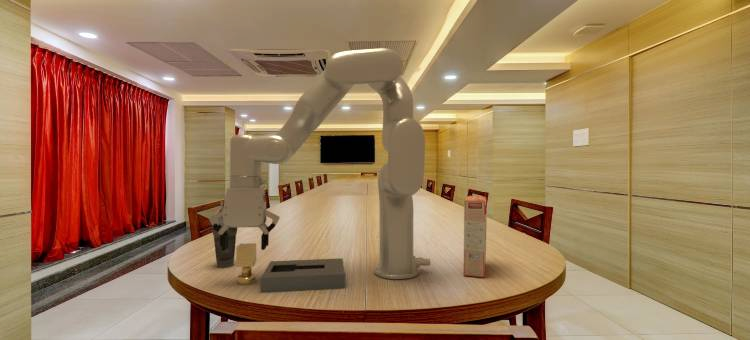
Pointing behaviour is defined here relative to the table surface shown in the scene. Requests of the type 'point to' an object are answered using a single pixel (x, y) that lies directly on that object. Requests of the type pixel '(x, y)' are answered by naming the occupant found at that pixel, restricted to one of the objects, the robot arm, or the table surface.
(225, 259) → the beverage cup
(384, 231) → the robot arm
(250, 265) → the brass peg
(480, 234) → the cracker box
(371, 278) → the table surface
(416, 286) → the table surface
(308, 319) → the table surface
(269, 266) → the keyhole plate
